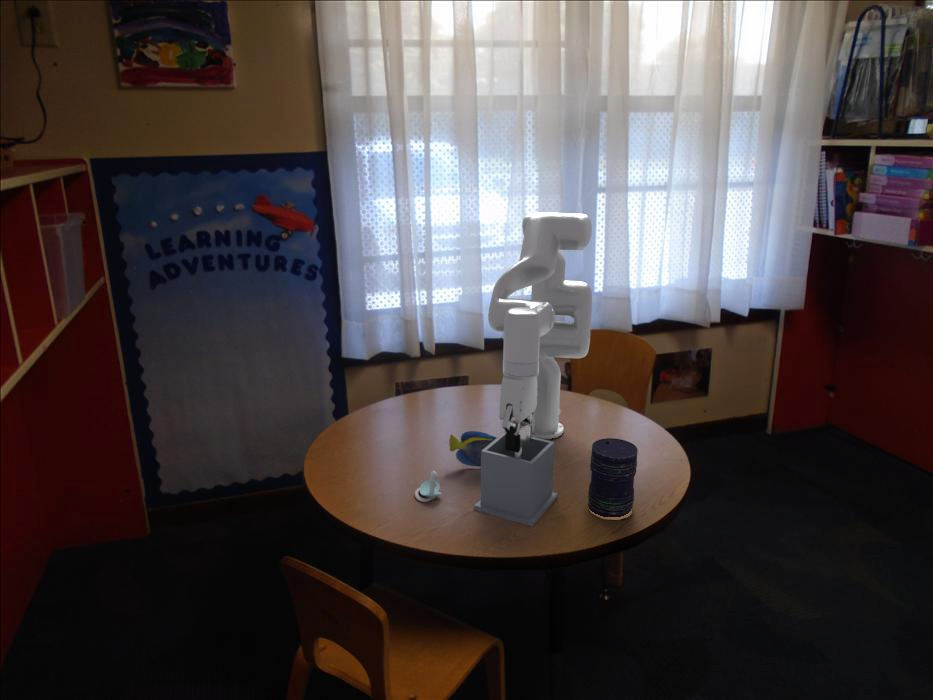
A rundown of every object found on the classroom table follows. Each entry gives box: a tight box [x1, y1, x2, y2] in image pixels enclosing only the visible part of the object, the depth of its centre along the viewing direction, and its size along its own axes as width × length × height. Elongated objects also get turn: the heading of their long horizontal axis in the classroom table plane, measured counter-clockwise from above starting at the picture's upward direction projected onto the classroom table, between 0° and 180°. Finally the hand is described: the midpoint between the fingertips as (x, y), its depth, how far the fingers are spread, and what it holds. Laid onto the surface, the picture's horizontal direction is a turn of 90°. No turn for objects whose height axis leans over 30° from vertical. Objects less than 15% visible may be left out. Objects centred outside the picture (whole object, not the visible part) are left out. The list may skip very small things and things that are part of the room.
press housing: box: [473, 431, 559, 528], centre depth 152 cm, size 14×14×14 cm
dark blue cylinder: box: [587, 437, 639, 517], centre depth 150 cm, size 10×10×15 cm
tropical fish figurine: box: [448, 430, 498, 467], centre depth 169 cm, size 16×3×10 cm, turn 86°
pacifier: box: [414, 470, 443, 503], centre depth 156 cm, size 7×6×6 cm
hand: (518, 444), depth 150 cm, fingers closed on plunger, 5 cm apart
